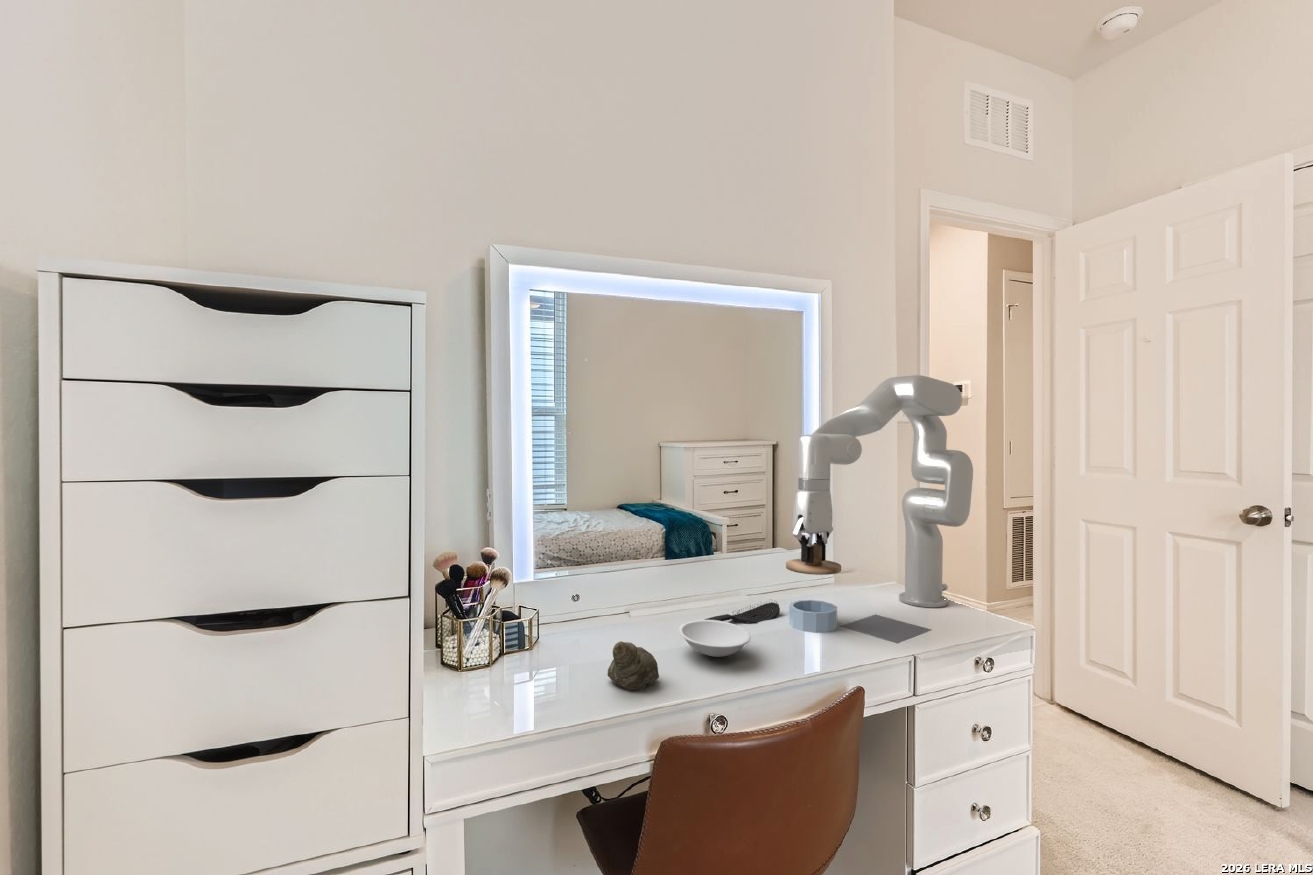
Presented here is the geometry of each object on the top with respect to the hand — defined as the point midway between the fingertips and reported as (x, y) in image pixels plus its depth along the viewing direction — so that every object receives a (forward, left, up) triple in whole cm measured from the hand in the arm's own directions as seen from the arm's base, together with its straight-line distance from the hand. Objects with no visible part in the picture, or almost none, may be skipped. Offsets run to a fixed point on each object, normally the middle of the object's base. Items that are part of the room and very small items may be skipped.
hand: (813, 560), depth 151 cm
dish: (+32, -1, -16) cm, 36 cm away
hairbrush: (+11, -14, -17) cm, 25 cm away
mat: (-12, +12, -16) cm, 24 cm away
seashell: (+52, 0, -16) cm, 54 cm away
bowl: (0, 0, -16) cm, 16 cm away
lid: (0, 0, -2) cm, 2 cm away
